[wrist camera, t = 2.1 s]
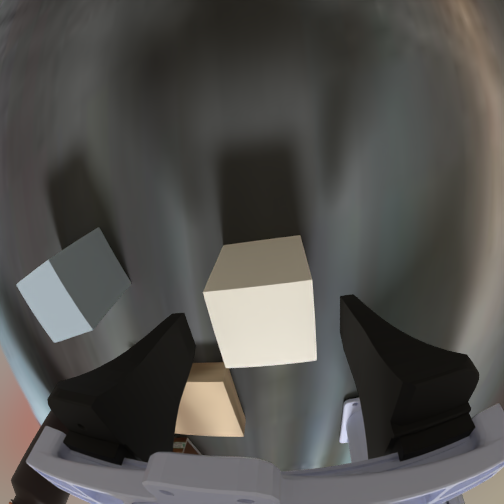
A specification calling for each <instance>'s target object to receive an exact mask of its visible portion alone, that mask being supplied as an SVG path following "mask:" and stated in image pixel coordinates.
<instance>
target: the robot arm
mask: <svg viewBox="0 0 504 504" xmlns="http://www.w3.org/2000/svg"><path fill="white" fill-rule="evenodd" d="M340 334H341V339H342V343H343V348H344V352H345V355H346V357H347V360H348V363H349V366H350V369H351V372H352V375H353V378H354V381H355V384H356V387H357V390H358V394H359V398H354V399H349V400H346V401H345V402H344V405H343V414H342V423H341V430H340V438H339V441H340V443H347V442H348V443H349V449H350V455H351V462H352V463H349V464H343V465H337V466H331V467H323V468H315V469H306V470H296V471H281V472H280V470H279V469H278V468H277V467H276V466H275V465H274V464H273V463H271V462H269V461H265V460H262V459H259V458H250V457H231V456H208V455H195V454H184V453H175V452H173V443H174V434H175V427H176V421H177V415H178V410H179V405H180V401H181V398H182V395H183V392H184V389H185V386H186V383H187V380H188V377H189V374H190V370H191V367H192V364H193V359H194V353H195V347H196V345H195V342H194V340H193V337H192V334H191V331H190V328H189V326H188V323H187V320H186V317H185V314H184V313H175V314H171V315H170V316H169V317H167V318H166V319H165V320H164V321H163V322H162V323H160V324H159V325H158V326H157V327H156V328H155V329H153V330H152V331H151V332H150V333H149V334H148V335H146V336H145V337H144V338H143V339H142V340H140V341H139V342H138V343H137V344H135V345H134V346H133V347H131V348H130V349H129V350H127V351H126V352H124V353H123V354H121V355H120V356H118V357H117V358H115V359H114V360H112V361H110V362H108V363H106V364H104V365H102V366H101V367H99V368H97V369H94V370H92V371H90V372H87V373H85V374H82V375H80V376H77V377H74V378H70V379H67V380H64V381H60V382H59V383H58V384H57V386H56V387H55V389H54V390H53V392H52V393H51V395H50V396H49V398H48V405H49V407H50V409H51V410H52V412H53V413H54V414H55V415H56V416H57V418H58V419H59V420H60V421H61V422H62V423H63V424H64V425H65V427H66V428H67V429H68V430H69V431H68V433H67V435H66V434H64V433H63V432H61V431H59V430H56V429H54V428H51V427H48V426H45V428H44V430H43V431H42V433H41V435H40V437H39V438H38V440H37V442H36V444H35V445H34V447H33V449H32V451H31V453H30V454H29V456H28V458H27V460H26V463H27V464H28V465H29V466H31V467H32V468H33V469H34V470H35V471H37V472H38V473H39V474H40V475H42V476H43V477H44V478H46V479H47V480H48V481H50V482H51V483H52V484H54V485H55V486H56V487H58V488H60V489H62V490H63V491H65V492H67V493H70V494H72V495H74V496H76V497H78V498H80V499H82V500H84V501H86V502H88V503H91V504H465V502H464V499H463V495H462V493H464V492H466V491H468V490H470V489H472V488H474V487H475V486H477V485H479V484H481V483H483V482H485V481H486V480H488V479H490V478H491V477H493V476H494V475H495V474H496V473H497V472H498V471H499V470H501V469H502V468H503V467H504V411H503V409H502V407H501V406H500V404H495V405H494V406H492V407H490V408H488V409H486V410H484V411H482V412H480V413H478V414H476V415H475V416H474V417H473V418H472V419H471V417H470V415H469V412H470V411H471V407H470V405H469V403H468V401H469V399H470V397H471V395H472V393H473V392H474V390H475V388H476V386H477V383H478V380H479V372H478V370H477V369H476V367H475V366H474V364H473V362H472V361H471V360H470V358H469V357H468V356H467V355H466V354H461V353H456V352H452V351H447V350H444V349H441V348H438V347H434V346H432V345H429V344H426V343H424V342H422V341H419V340H417V339H415V338H413V337H411V336H409V335H407V334H405V333H404V332H402V331H400V330H398V329H397V328H395V327H393V326H392V325H391V324H389V323H388V322H386V321H385V320H383V319H382V318H381V317H379V316H378V315H377V314H376V313H374V312H373V311H372V310H371V309H370V308H368V307H367V306H366V305H365V304H364V303H363V302H362V301H360V300H359V299H358V298H357V297H356V296H355V295H353V294H352V295H345V296H340Z"/></svg>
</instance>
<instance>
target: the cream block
mask: <svg viewBox="0 0 504 504" xmlns="http://www.w3.org/2000/svg"><path fill="white" fill-rule="evenodd" d="M203 294H204V298H205V301H206V305H207V308H208V312H209V315H210V319H211V322H212V325H213V329H214V332H215V335H216V339H217V342H218V345H219V348H220V352H221V355H222V358H223V361H224V364H225V367H226V368H241V367H257V366H270V365H281V364H291V363H300V362H308V361H316V360H317V354H316V332H315V314H314V298H313V285H312V277H311V273H310V270H309V266H308V262H307V258H306V255H305V251H304V247H303V244H302V240H301V236H300V235H297V236H289V237H282V238H274V239H266V240H258V241H251V242H243V243H236V244H228V245H223V247H222V249H221V252H220V254H219V256H218V259H217V261H216V263H215V265H214V268H213V270H212V272H211V275H210V277H209V279H208V282H207V284H206V286H205V289H204V291H203Z"/></svg>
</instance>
